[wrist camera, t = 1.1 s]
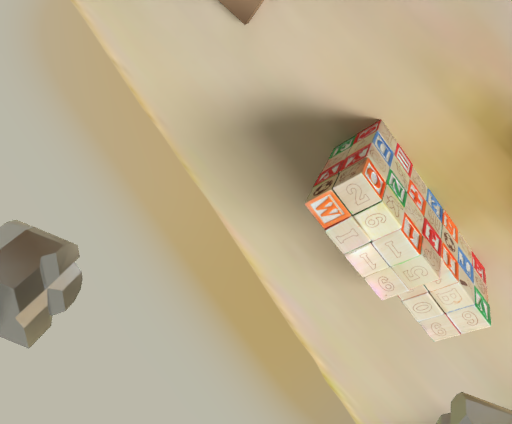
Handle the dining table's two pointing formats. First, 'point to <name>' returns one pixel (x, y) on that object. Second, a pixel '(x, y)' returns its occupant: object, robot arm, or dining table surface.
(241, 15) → the walnut coaster
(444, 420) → the robot arm
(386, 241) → the stack of blocks
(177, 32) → the dining table surface
